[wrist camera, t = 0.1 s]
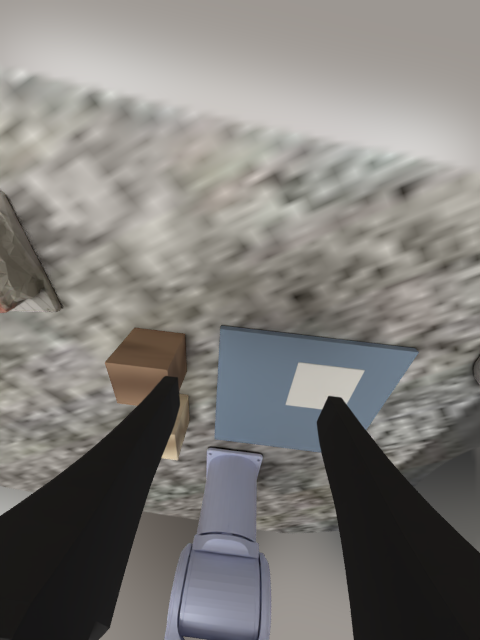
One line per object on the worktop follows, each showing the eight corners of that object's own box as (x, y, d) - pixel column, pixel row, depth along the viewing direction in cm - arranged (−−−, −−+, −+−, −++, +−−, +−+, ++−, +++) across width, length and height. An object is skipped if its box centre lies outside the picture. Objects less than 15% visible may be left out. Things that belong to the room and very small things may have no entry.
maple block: (189, 419, 29) (177, 460, 25) (152, 415, 29) (133, 454, 25) (188, 394, 26) (174, 434, 22) (147, 389, 26) (125, 428, 22)
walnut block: (187, 370, 24) (171, 409, 20) (142, 364, 24) (117, 403, 20) (185, 333, 22) (167, 369, 17) (134, 327, 22) (104, 362, 17)
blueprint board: (347, 451, 30) (348, 456, 29) (215, 434, 30) (214, 439, 30) (414, 348, 20) (419, 353, 20) (221, 325, 21) (220, 329, 20)
